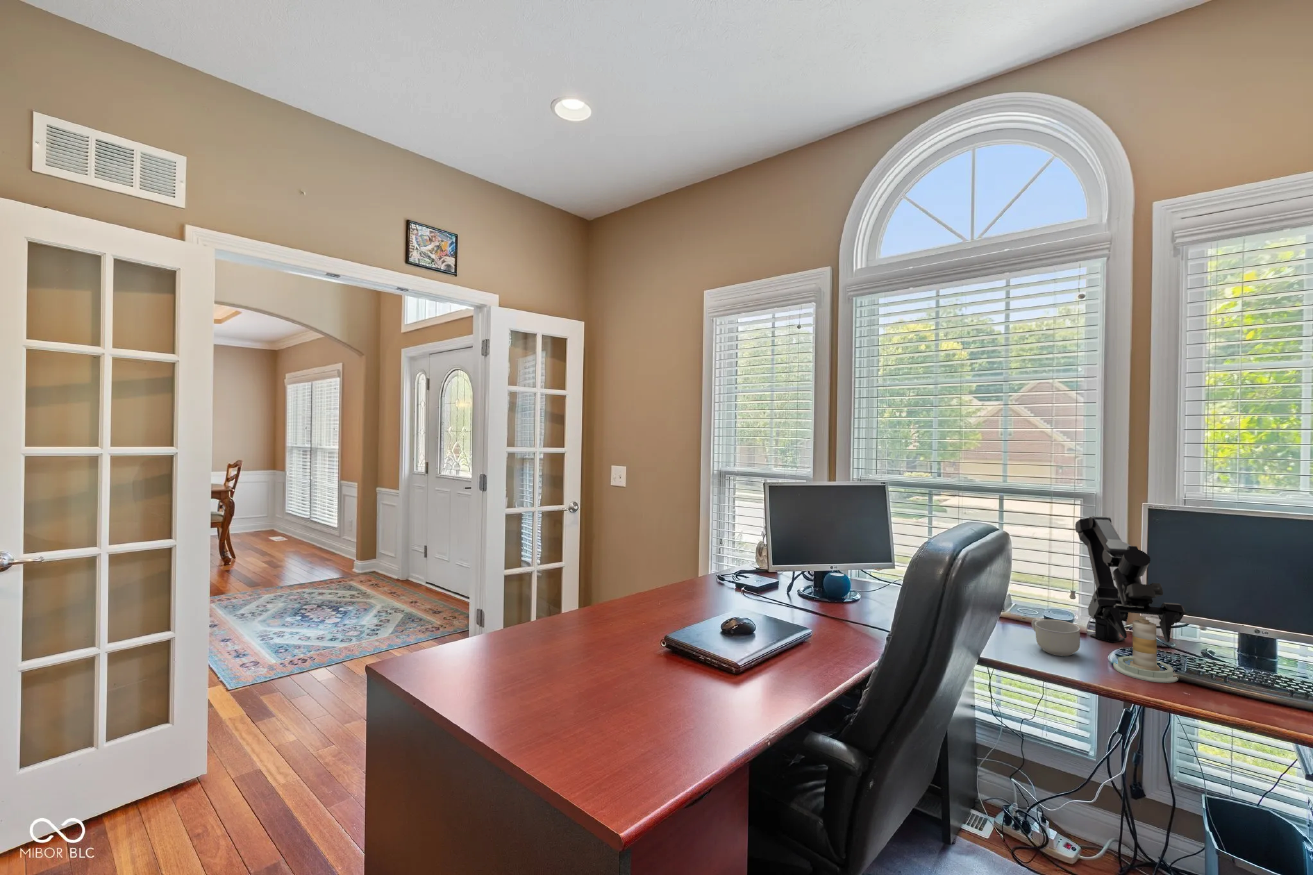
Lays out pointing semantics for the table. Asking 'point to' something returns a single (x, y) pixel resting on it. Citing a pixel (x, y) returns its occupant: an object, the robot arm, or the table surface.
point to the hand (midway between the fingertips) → (1146, 639)
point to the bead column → (1144, 645)
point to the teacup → (1057, 636)
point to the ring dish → (1145, 671)
